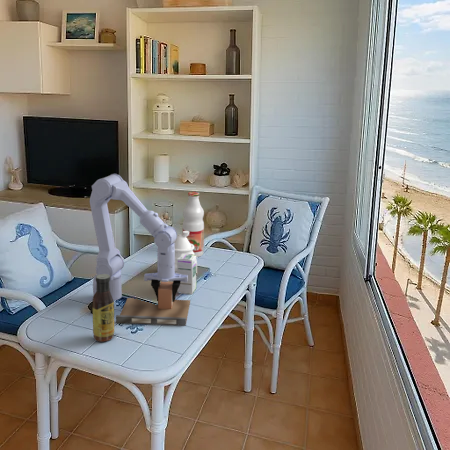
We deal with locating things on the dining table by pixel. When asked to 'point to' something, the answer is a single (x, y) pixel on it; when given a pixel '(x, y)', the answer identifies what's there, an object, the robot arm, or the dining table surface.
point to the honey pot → (183, 247)
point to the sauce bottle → (103, 310)
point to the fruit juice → (194, 223)
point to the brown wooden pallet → (153, 313)
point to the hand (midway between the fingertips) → (166, 300)
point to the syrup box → (187, 273)
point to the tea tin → (165, 295)
